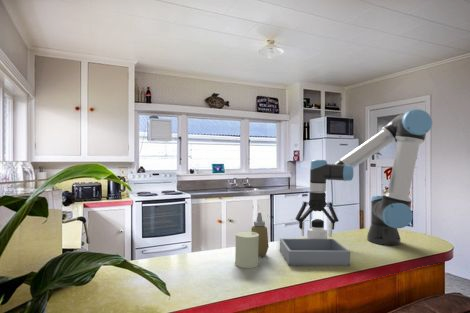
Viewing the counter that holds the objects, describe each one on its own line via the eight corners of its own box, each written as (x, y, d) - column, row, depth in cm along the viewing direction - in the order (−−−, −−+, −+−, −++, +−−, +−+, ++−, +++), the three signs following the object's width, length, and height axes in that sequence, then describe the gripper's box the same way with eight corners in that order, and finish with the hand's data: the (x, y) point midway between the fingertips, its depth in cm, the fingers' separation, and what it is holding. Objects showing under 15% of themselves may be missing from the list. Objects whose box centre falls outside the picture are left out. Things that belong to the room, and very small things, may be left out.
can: (262, 266, 113) (262, 235, 113) (239, 269, 110) (240, 236, 110) (252, 258, 121) (253, 229, 121) (231, 261, 118) (232, 230, 118)
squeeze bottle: (269, 258, 122) (270, 214, 122) (249, 258, 122) (250, 214, 122) (267, 252, 130) (268, 211, 130) (249, 252, 130) (249, 210, 130)
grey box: (332, 251, 133) (333, 238, 133) (349, 265, 115) (350, 251, 115) (279, 250, 132) (279, 238, 132) (288, 265, 114) (288, 251, 114)
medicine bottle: (327, 244, 143) (327, 219, 143) (320, 247, 138) (320, 221, 138) (313, 241, 148) (314, 217, 148) (306, 244, 143) (306, 219, 143)
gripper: (340, 191, 147) (338, 234, 147) (290, 190, 146) (288, 233, 146) (346, 193, 140) (345, 238, 140) (293, 192, 139) (292, 237, 139)
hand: (316, 235), depth 143 cm, fingers open, 13 cm apart
